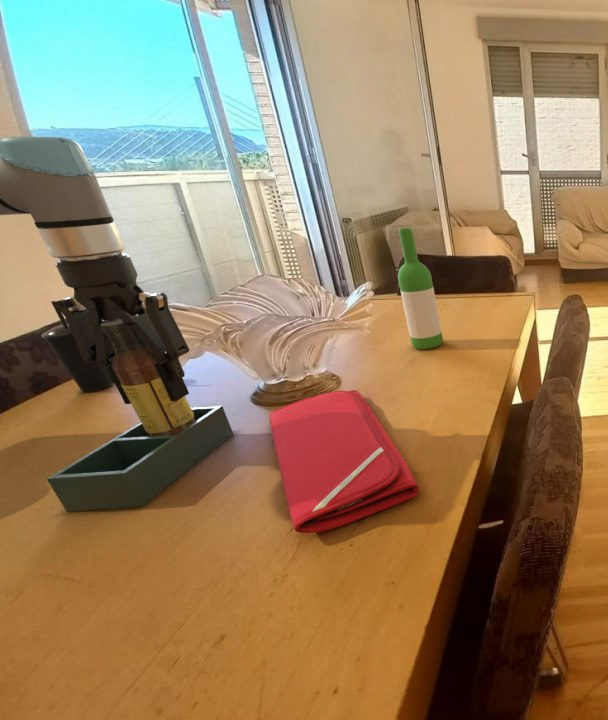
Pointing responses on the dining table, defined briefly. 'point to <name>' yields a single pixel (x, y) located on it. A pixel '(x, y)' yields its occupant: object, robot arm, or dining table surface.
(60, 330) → the drinking cup
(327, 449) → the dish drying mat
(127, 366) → the sauce bottle
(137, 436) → the dark green divided tray
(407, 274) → the wine bottle
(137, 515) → the dining table surface
